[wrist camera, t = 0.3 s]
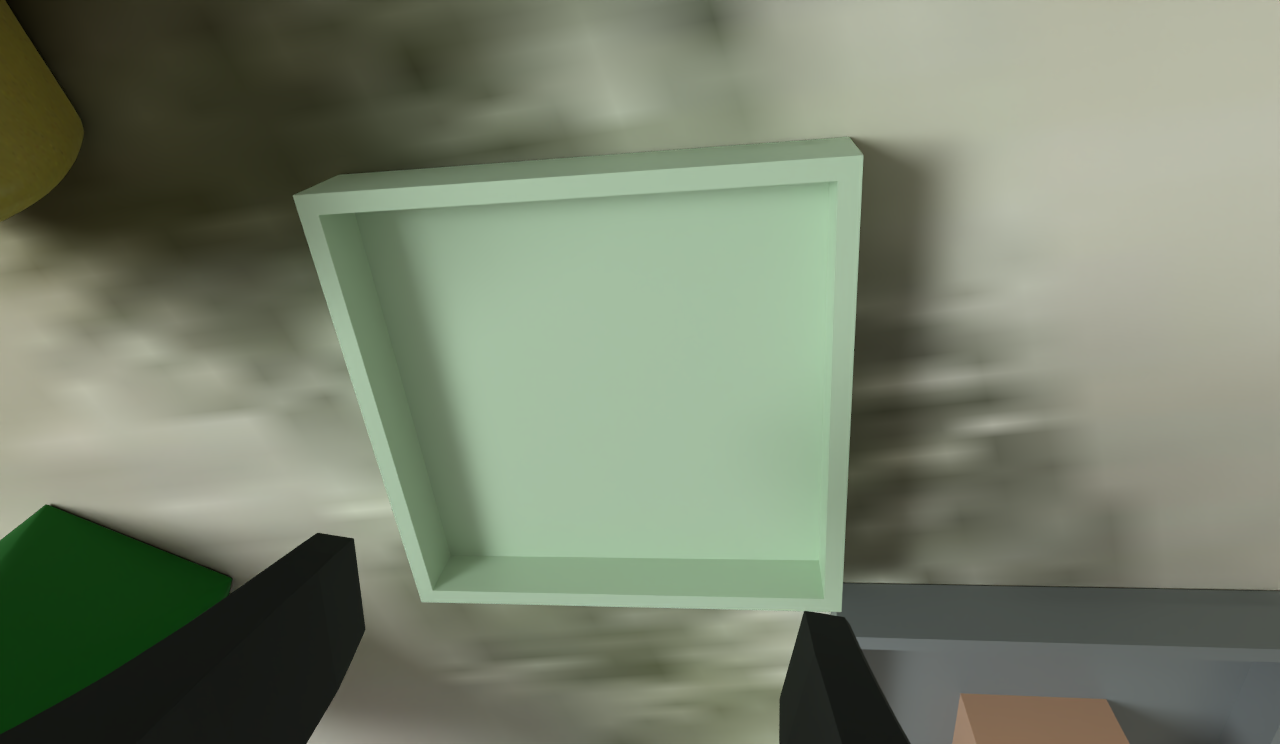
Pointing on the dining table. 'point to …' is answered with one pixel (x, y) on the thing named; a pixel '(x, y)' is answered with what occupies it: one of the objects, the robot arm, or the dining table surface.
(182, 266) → the dining table surface
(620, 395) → the green tray
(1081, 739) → the terracotta block
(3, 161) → the flower pot
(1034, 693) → the charcoal tray
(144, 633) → the milk carton
